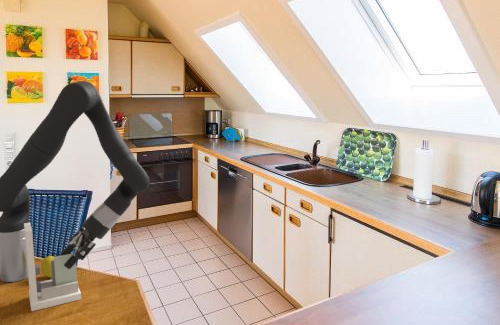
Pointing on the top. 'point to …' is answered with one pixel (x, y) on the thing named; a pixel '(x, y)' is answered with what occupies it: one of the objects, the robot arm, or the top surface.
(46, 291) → the white tall l-shaped piece
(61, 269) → the pale green slab
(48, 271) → the lemon
